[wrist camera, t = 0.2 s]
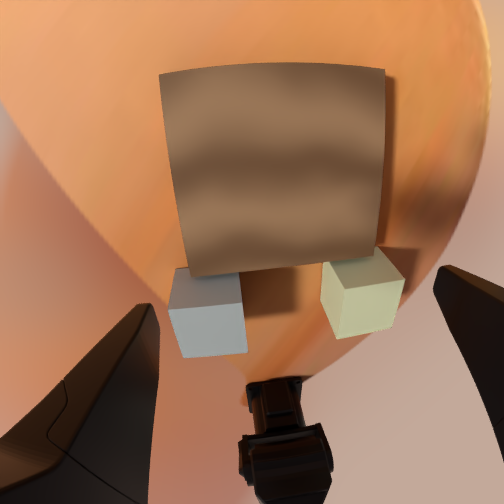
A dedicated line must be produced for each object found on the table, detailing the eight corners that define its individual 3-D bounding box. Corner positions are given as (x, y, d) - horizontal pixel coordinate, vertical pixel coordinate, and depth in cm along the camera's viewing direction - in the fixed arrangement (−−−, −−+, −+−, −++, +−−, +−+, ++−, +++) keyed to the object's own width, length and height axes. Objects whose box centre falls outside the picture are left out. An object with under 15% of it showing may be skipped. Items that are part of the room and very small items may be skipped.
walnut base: (363, 243, 24) (373, 255, 22) (192, 262, 23) (190, 277, 22) (371, 69, 17) (384, 69, 15) (164, 76, 16) (158, 74, 15)
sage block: (369, 292, 27) (391, 327, 23) (320, 300, 27) (336, 339, 23) (377, 246, 25) (405, 279, 20) (323, 252, 24) (344, 289, 20)
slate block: (243, 310, 27) (248, 352, 22) (187, 315, 26) (183, 358, 22) (237, 262, 24) (242, 302, 20) (175, 269, 24) (167, 309, 19)
